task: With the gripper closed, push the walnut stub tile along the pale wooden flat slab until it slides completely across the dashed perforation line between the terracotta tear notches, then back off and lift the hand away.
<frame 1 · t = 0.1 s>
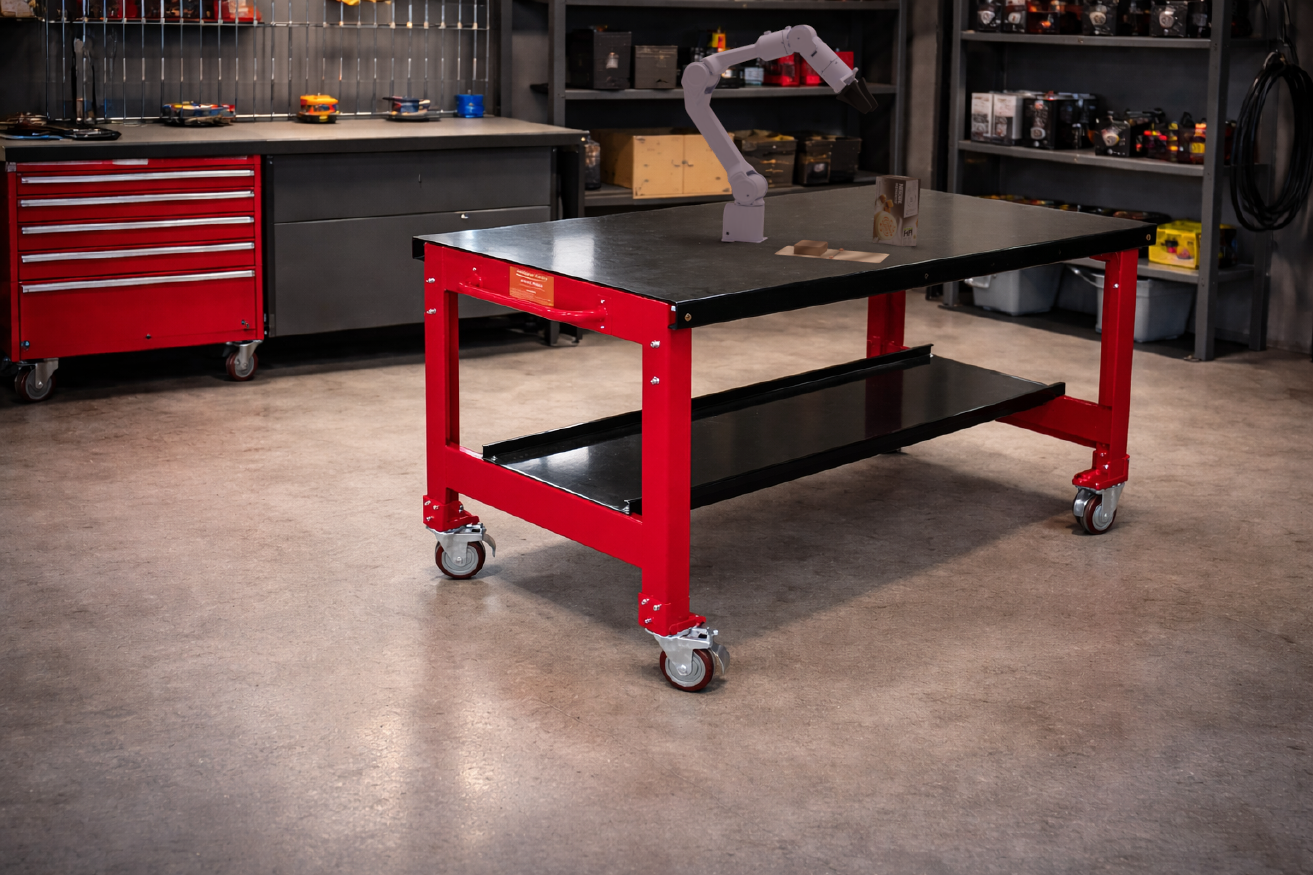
hand: (871, 109, 307), 32 cm above the table, tool tilted 50°, fingers open, 7 cm apart
pale wooden flat slab: (832, 256, 309), on the table
stub tile: (810, 252, 310), point 1 cm above the table, touching pale wooden flat slab
coffee box: (893, 245, 327), on the table
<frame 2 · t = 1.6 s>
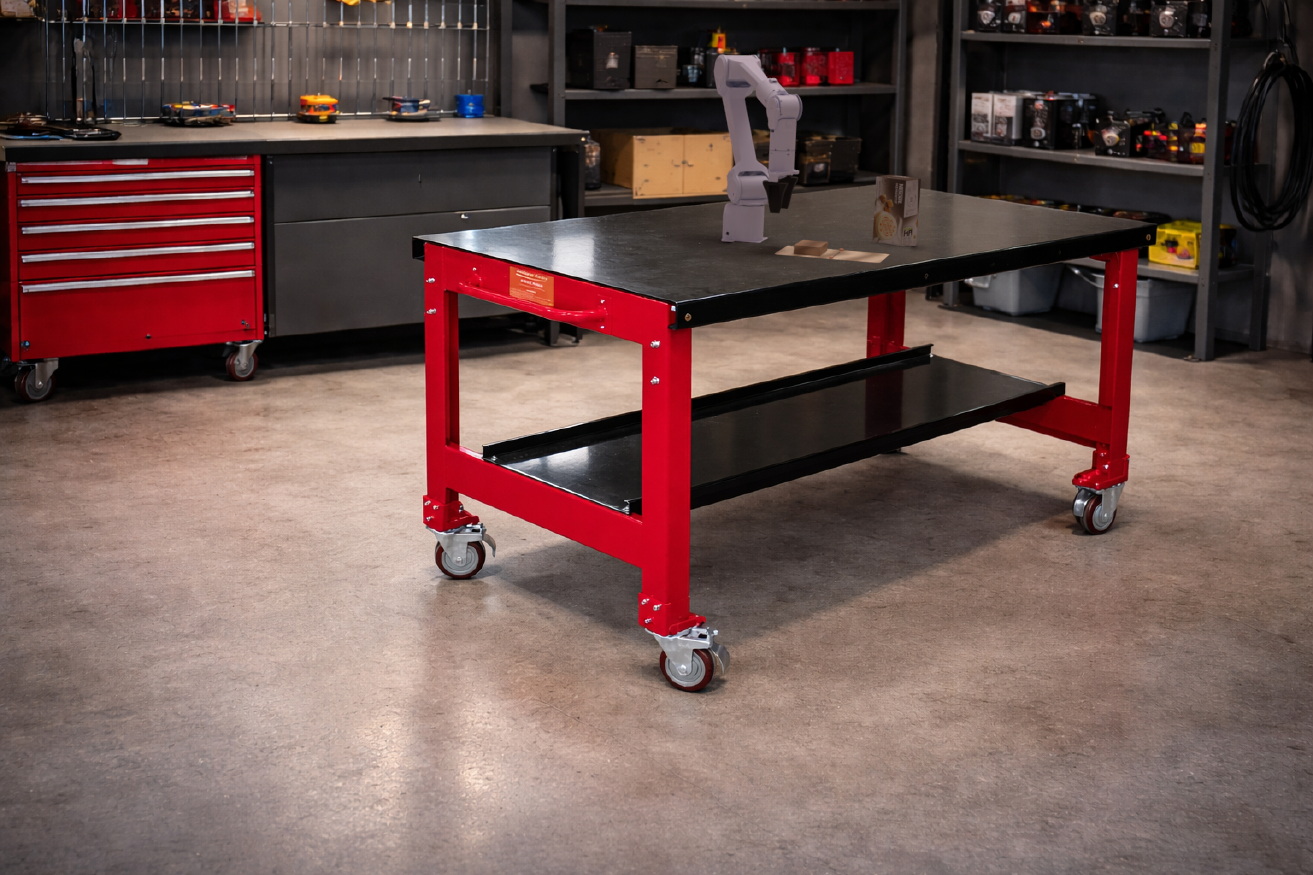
hand: (779, 210, 310), 9 cm above the table, tool pointing down, fingers open, 7 cm apart
nothing on the table moved.
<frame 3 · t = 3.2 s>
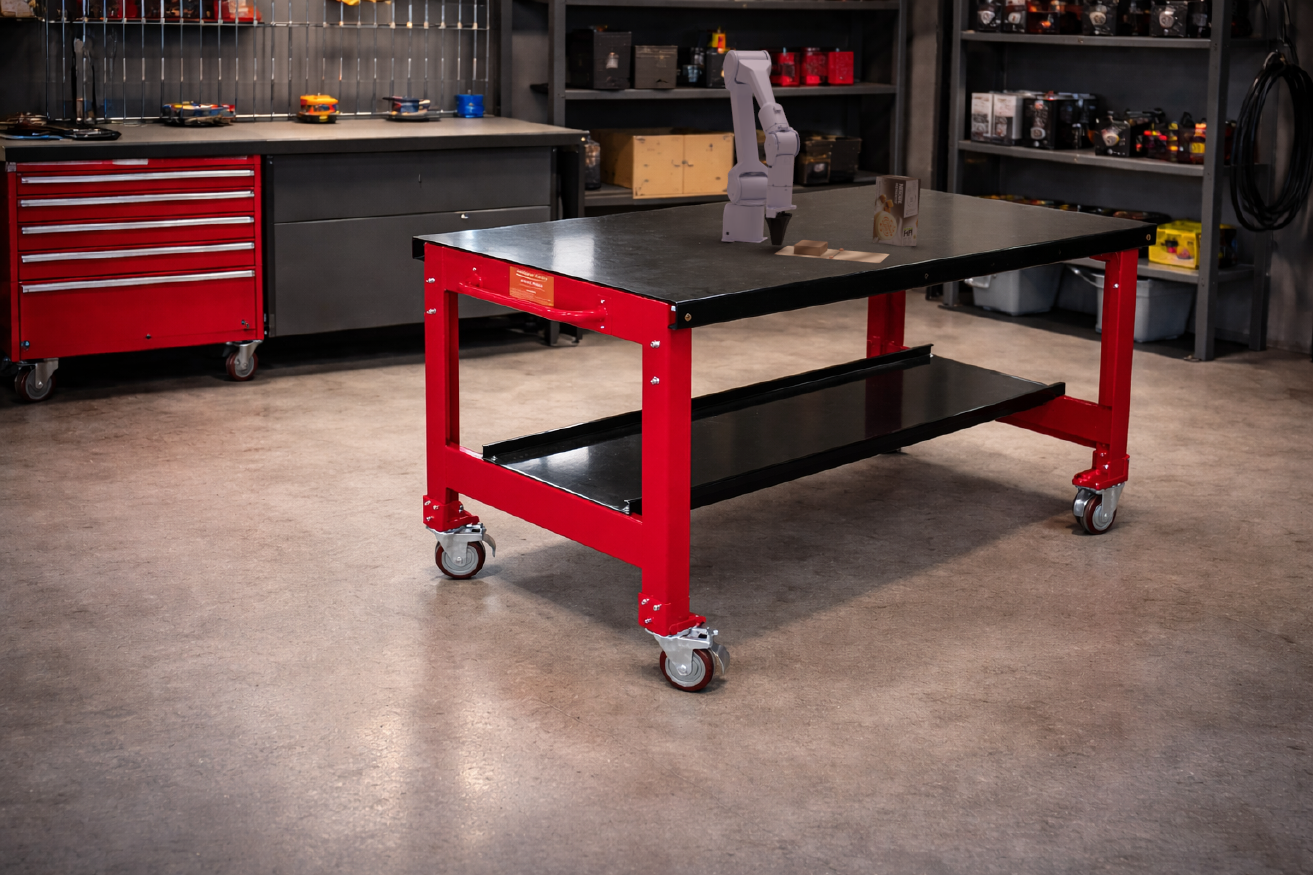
hand: (776, 245, 313), 2 cm above the table, tool pointing down, fingers closed
nothing on the table moved.
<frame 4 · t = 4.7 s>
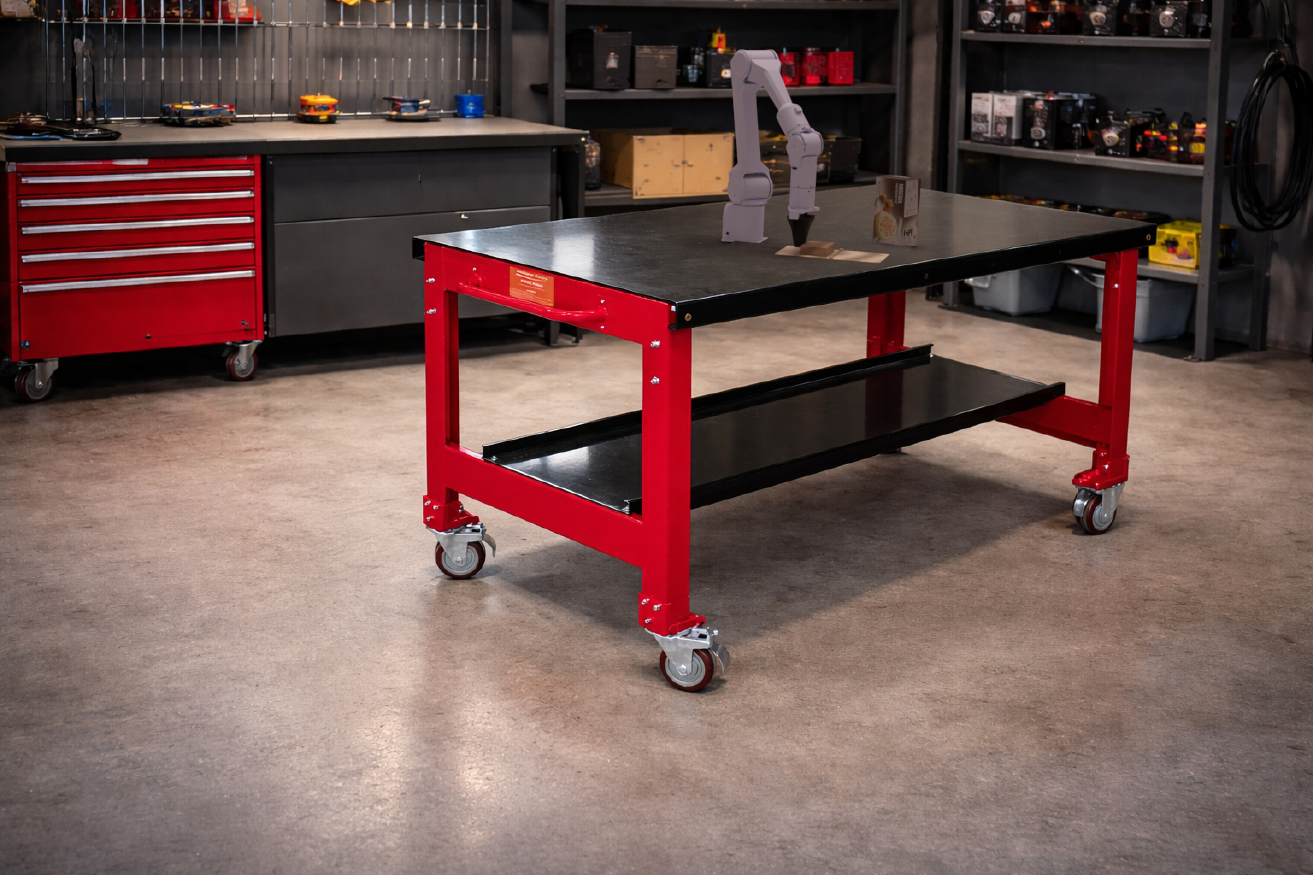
hand: (799, 246, 311), 2 cm above the table, tool pointing down, fingers closed, pressing on stub tile
stub tile: (817, 252, 310), point 1 cm above the table, touching gripper
everything else where it was.
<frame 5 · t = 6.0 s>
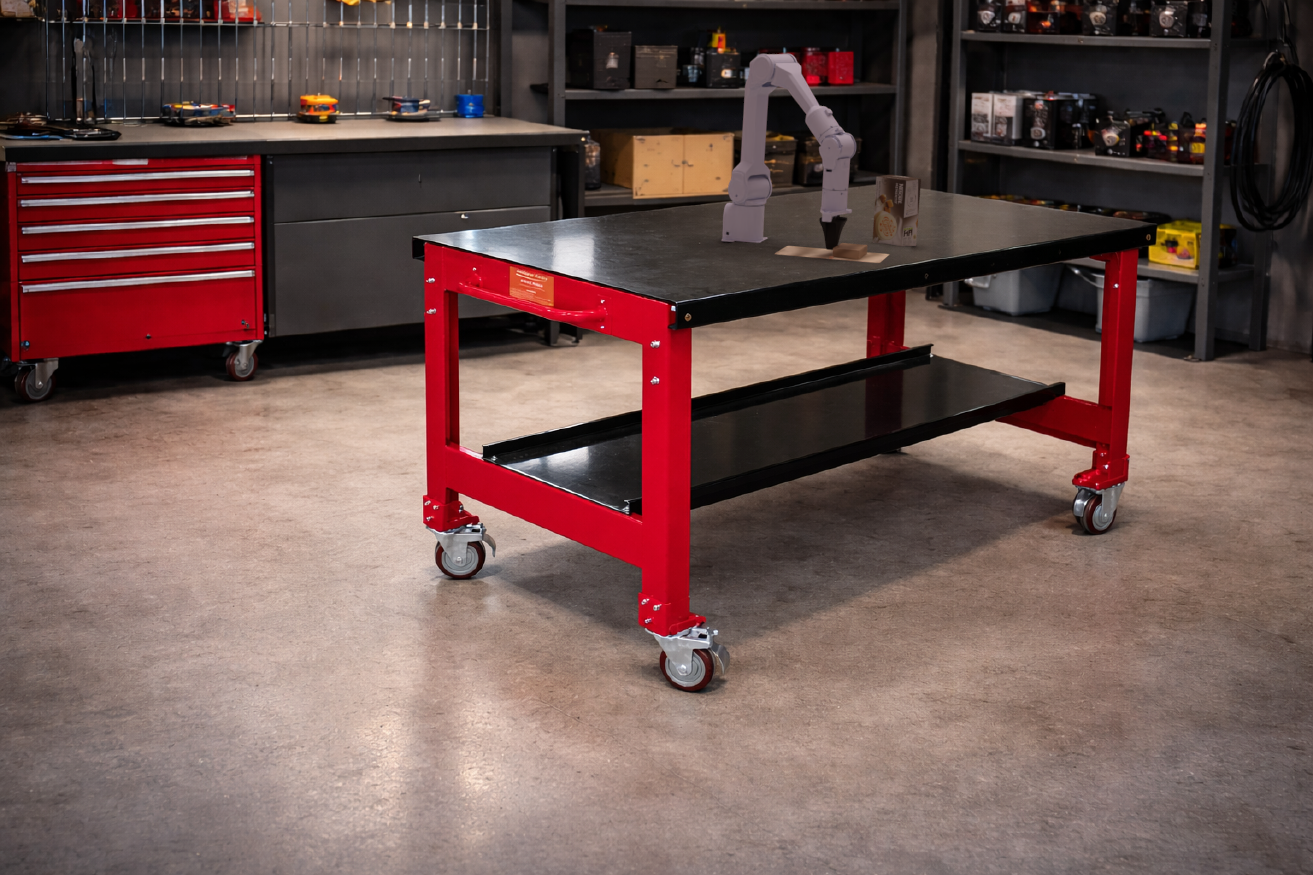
hand: (831, 249, 309), 2 cm above the table, tool pointing down, fingers closed, pressing on stub tile
stub tile: (849, 255, 308), point 1 cm above the table, touching gripper
everything else where it was.
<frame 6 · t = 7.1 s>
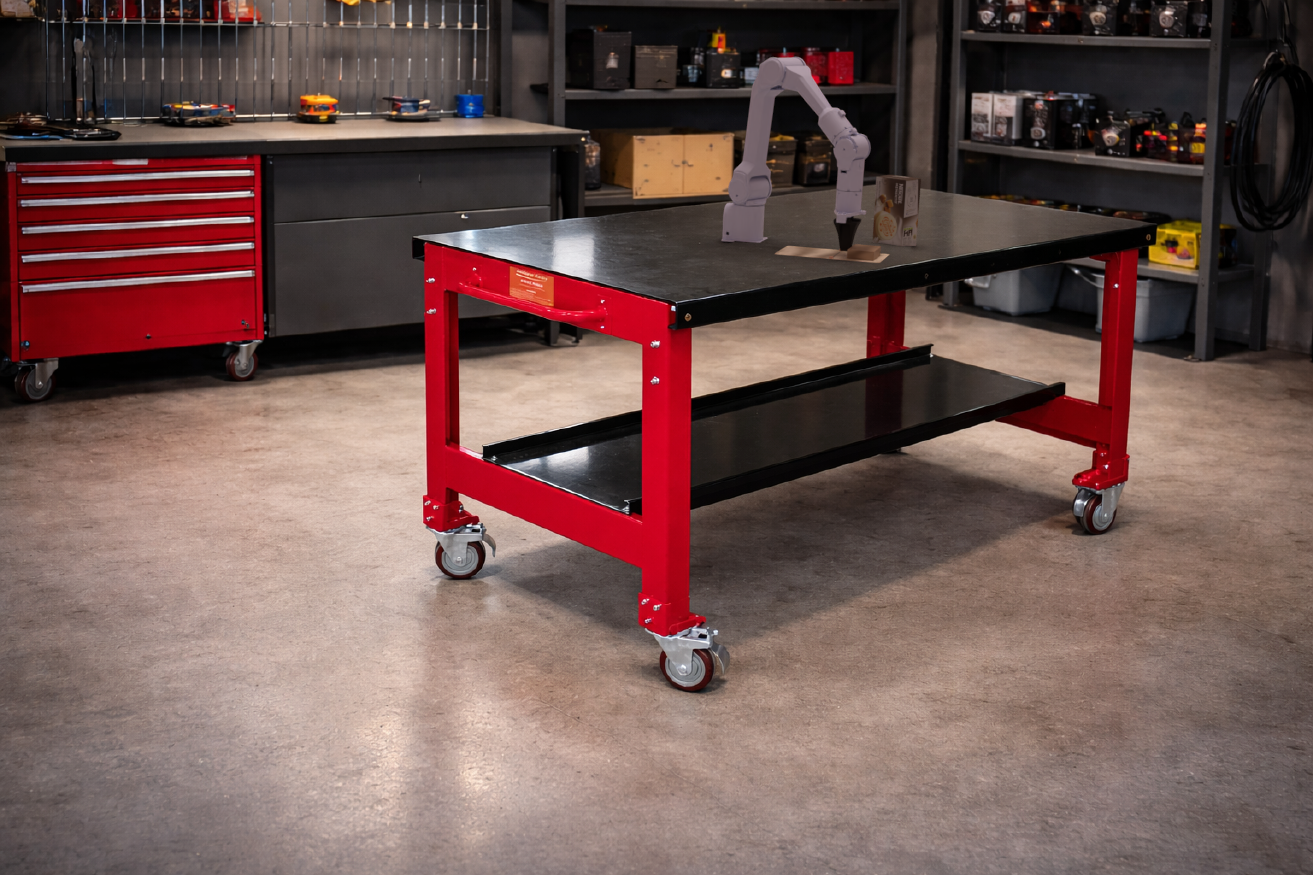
hand: (845, 250, 308), 2 cm above the table, tool pointing down, fingers closed, pressing on stub tile
stub tile: (863, 256, 307), point 1 cm above the table, touching gripper, pale wooden flat slab
everything else where it was.
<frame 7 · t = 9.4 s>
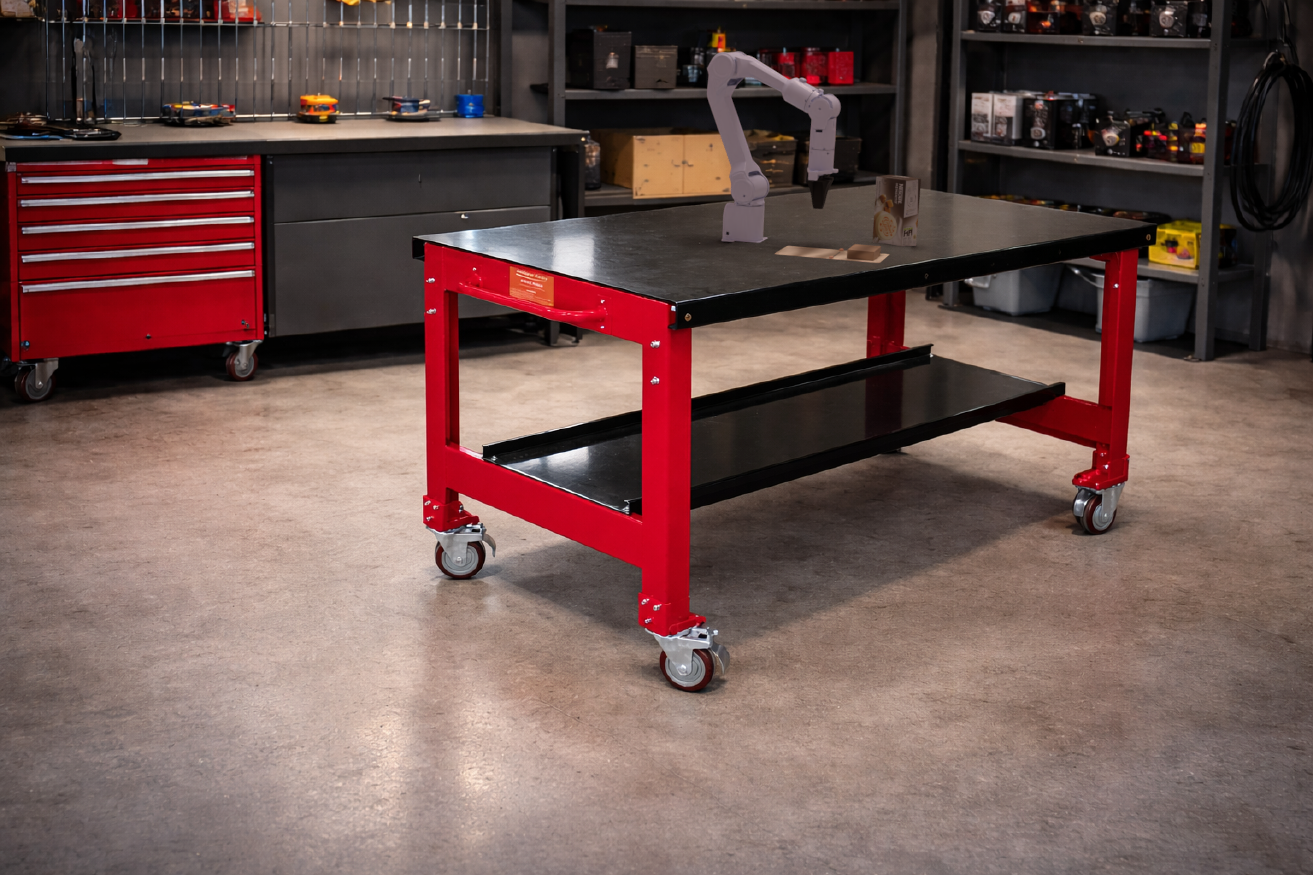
hand: (818, 208, 316), 9 cm above the table, tool pointing down, fingers closed
stub tile: (863, 256, 307), point 1 cm above the table, touching pale wooden flat slab
everything else where it was.
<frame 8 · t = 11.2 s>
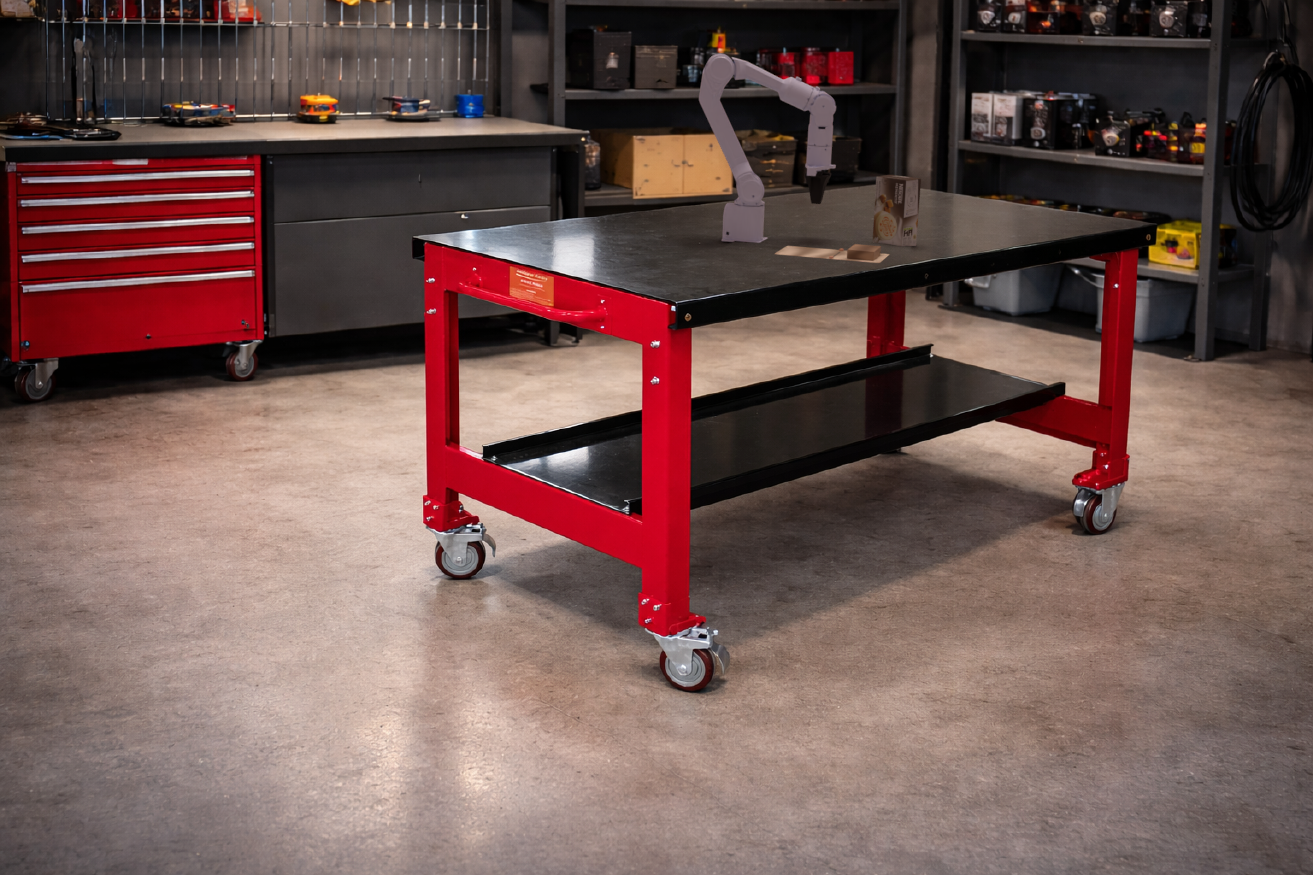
hand: (816, 203, 323), 9 cm above the table, tool pointing down, fingers closed
nothing on the table moved.
at the end: stub tile inside the target area (0.9 cm from its centre), point 0.6 cm above the table; stub tile tilted 0°; the gripper is holding nothing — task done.
